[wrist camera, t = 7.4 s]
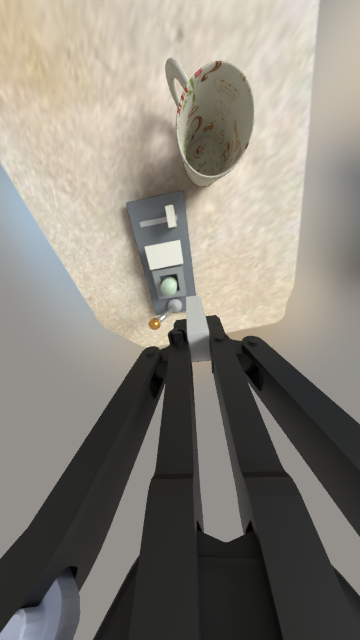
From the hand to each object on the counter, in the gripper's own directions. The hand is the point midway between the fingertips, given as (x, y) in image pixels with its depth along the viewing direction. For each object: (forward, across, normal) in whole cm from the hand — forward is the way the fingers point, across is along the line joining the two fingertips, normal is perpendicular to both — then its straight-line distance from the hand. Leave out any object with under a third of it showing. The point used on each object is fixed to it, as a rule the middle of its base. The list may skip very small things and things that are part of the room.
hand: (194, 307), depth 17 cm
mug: (+20, +3, +18) cm, 27 cm away
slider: (+18, -2, +9) cm, 20 cm away
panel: (+20, -4, +2) cm, 20 cm away
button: (+16, -4, -2) cm, 16 cm away
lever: (+16, -4, -7) cm, 18 cm away
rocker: (+16, -4, +4) cm, 17 cm away
